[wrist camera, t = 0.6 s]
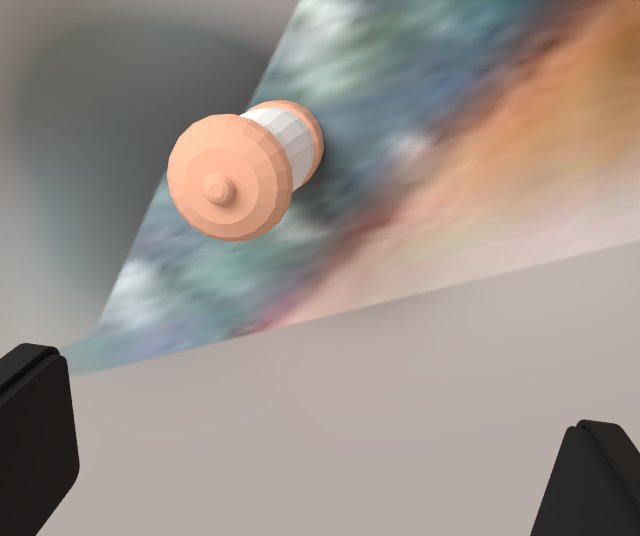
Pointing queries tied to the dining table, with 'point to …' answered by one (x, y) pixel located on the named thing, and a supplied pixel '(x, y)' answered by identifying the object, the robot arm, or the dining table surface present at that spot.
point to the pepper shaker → (244, 168)
